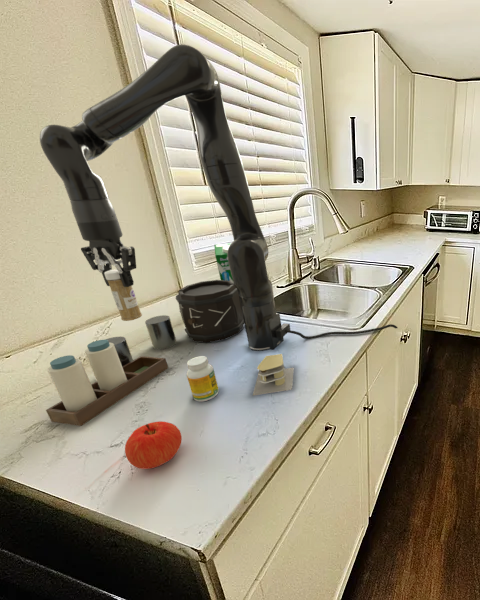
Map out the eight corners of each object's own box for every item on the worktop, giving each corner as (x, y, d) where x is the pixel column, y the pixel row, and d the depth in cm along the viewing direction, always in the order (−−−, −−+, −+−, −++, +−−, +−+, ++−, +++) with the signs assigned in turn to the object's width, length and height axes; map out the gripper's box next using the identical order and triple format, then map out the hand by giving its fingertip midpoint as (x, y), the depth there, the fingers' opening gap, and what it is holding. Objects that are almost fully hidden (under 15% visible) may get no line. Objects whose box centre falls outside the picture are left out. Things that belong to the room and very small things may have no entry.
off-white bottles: (135, 386, 80) (117, 338, 75) (82, 420, 69) (57, 367, 64) (118, 384, 81) (99, 337, 76) (63, 417, 70) (37, 365, 65)
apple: (120, 478, 56) (105, 442, 53) (153, 442, 64) (141, 409, 61) (166, 477, 56) (153, 442, 53) (194, 442, 64) (183, 409, 61)
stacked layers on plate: (258, 372, 86) (255, 354, 84) (293, 367, 88) (291, 349, 86) (252, 395, 77) (248, 376, 75) (291, 389, 79) (288, 370, 77)
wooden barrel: (171, 342, 102) (157, 295, 96) (213, 318, 118) (203, 277, 113) (220, 347, 98) (208, 299, 93) (257, 323, 115) (248, 280, 109)
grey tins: (181, 342, 102) (174, 316, 99) (120, 379, 84) (108, 348, 81) (165, 340, 103) (157, 314, 100) (101, 376, 85) (88, 346, 82)
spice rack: (168, 369, 88) (165, 358, 86) (81, 427, 68) (75, 414, 66) (144, 366, 89) (141, 355, 88) (52, 423, 69) (45, 410, 68)
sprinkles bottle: (141, 318, 88) (125, 270, 83) (120, 323, 85) (102, 274, 80) (143, 313, 91) (127, 266, 86) (122, 317, 89) (105, 269, 84)
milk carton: (228, 314, 122) (213, 248, 113) (227, 306, 129) (214, 244, 120) (254, 310, 126) (242, 246, 117) (252, 302, 133) (240, 241, 124)
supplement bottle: (194, 391, 79) (184, 357, 75) (219, 385, 81) (211, 352, 77) (192, 405, 74) (181, 369, 71) (219, 398, 76) (209, 363, 73)
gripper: (136, 217, 81) (156, 282, 87) (89, 217, 83) (112, 280, 90) (105, 221, 74) (129, 291, 80) (55, 221, 76) (83, 289, 83)
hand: (120, 285), depth 85 cm, fingers closed on sprinkles bottle, 4 cm apart
